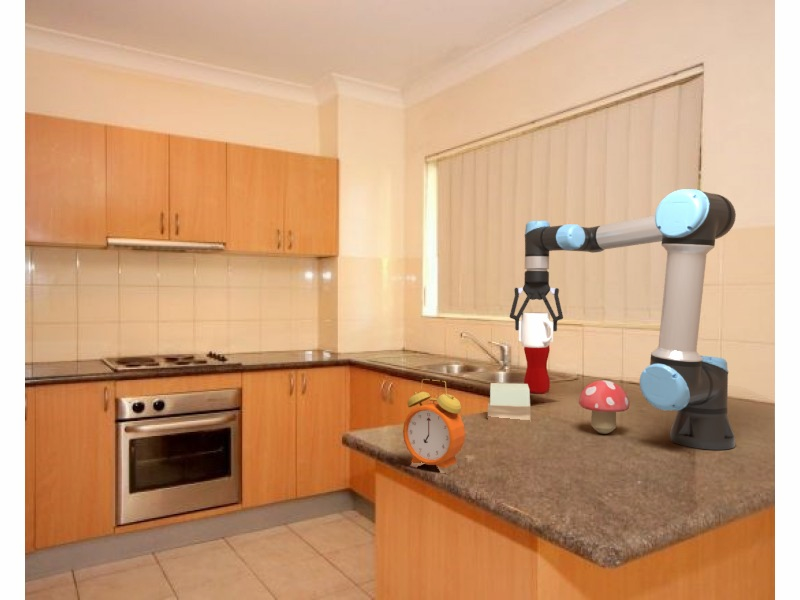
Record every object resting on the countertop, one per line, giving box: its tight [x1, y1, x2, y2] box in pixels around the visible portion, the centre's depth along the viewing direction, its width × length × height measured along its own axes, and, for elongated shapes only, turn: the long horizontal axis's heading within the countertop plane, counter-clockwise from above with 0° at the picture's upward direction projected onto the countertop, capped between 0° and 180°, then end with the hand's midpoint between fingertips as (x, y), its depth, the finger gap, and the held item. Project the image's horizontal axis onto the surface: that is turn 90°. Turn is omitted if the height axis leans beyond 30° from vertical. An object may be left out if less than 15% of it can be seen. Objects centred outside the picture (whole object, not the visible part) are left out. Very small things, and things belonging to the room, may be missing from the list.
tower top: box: [489, 382, 531, 407], centre depth 180 cm, size 12×12×5 cm
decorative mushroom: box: [578, 379, 630, 435], centre depth 158 cm, size 13×13×15 cm
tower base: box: [487, 398, 531, 421], centre depth 180 cm, size 13×13×5 cm
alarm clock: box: [402, 378, 466, 468], centre depth 128 cm, size 13×6×20 cm, turn 56°
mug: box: [521, 311, 554, 348], centre depth 178 cm, size 9×12×11 cm
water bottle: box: [523, 345, 551, 395], centre depth 225 cm, size 9×11×25 cm
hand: (535, 341), depth 178 cm, fingers closed on mug, 9 cm apart
